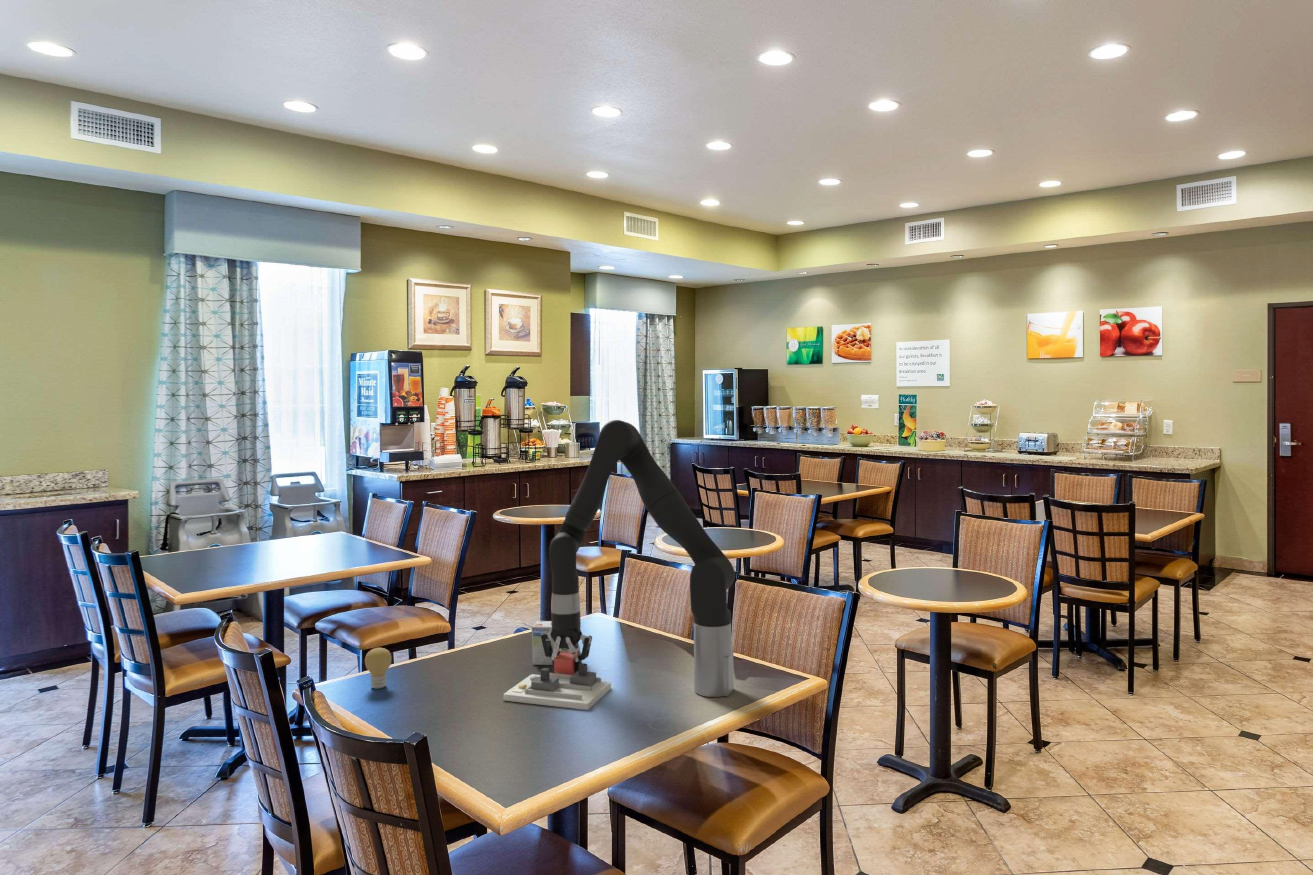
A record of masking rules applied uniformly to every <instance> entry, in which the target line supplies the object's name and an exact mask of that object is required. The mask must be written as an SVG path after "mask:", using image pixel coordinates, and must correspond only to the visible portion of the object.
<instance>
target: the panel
mask: <svg viewBox="0 0 1313 875" xmlns="http://www.w3.org/2000/svg"><path fill="white" fill-rule="evenodd" d="M549 674H550V677H559V688H558V689H556V690H555V691H554V692H553V691H543V690H534V689H531V682H532V681H534V680H535V679H536V678H538V677H539V676H541V674H530V675H528V676H527V677H526V678H524V679H522V680H521V681H520V682H519V683H516V685H514V686H513V687H511V688H509V690H507V691H506V692H504V693H503V694H502V696H503V700H502V701H507V702H513V703H514V702H516V703H521V704H522V703H524V704H531V705H541V706H550V707H557V708H558V707H559V708H566V709H575V710H576V709H577V710H583V711H584V710H586V711H589V709H591V707H592V706H593V705H595V704H596V703H597V702H598V701H599V700H600V699H601V698H602V697H604V695H606V694H607V693H608V692H609V691H610V690H611V689H612V682H610V681H609V682H608V681H602V677H599V676H598V677H597V672H594V671H588V663H583V662H582V663H581V664H580V665H579V671H577V672H576V673H574V674H573V675H569V674H559V673H554V672H549Z"/></svg>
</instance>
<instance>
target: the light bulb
mask: <svg viewBox="0 0 1313 875" xmlns="http://www.w3.org/2000/svg"><path fill="white" fill-rule="evenodd" d="M392 658H393V656H392V653H391V652H390V650H388V649H386V648H385V647H384V648H383V647H375V648H372V649H370V650H369V651H368V652H367V653H366V655H365V658H364V665H365V668H366V670H368V672H369V673H370V674H371V676H370V686H371V688H373V689H377V690H378V689H383V688H385V687H386V686H387V680H388V678H387V673H386V672H387V671H388V670H389V669H390V666H391V664H392Z"/></svg>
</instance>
